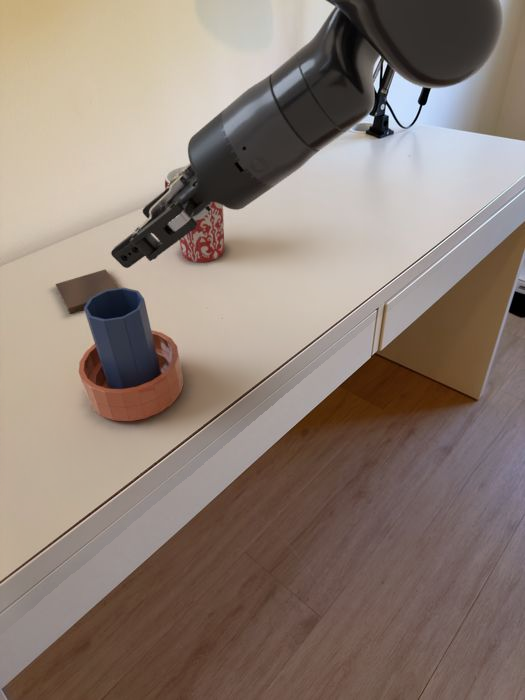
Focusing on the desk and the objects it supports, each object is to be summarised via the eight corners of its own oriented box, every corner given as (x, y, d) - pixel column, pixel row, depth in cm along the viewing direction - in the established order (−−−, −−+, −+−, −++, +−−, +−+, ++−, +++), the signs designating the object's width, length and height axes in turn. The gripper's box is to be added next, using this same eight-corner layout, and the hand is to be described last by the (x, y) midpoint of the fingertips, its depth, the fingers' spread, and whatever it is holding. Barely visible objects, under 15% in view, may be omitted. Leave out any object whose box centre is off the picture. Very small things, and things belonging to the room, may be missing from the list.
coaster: (69, 314, 77) (67, 308, 76) (57, 289, 82) (55, 283, 82) (122, 297, 80) (121, 291, 79) (106, 274, 85) (105, 269, 84)
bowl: (105, 439, 58) (94, 406, 54) (79, 380, 65) (68, 349, 62) (199, 400, 62) (193, 368, 58) (163, 349, 69) (157, 318, 66)
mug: (241, 252, 89) (235, 173, 80) (196, 271, 85) (184, 190, 76) (199, 228, 97) (189, 154, 88) (156, 244, 92) (142, 168, 84)
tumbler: (120, 412, 60) (94, 327, 52) (104, 380, 64) (78, 298, 57) (169, 392, 62) (151, 308, 54) (150, 363, 66) (131, 281, 59)
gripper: (244, 83, 49) (133, 178, 57) (204, 138, 38) (75, 246, 47) (292, 149, 52) (180, 230, 61) (267, 217, 42) (136, 304, 50)
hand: (134, 237), depth 54 cm, fingers open, 8 cm apart
